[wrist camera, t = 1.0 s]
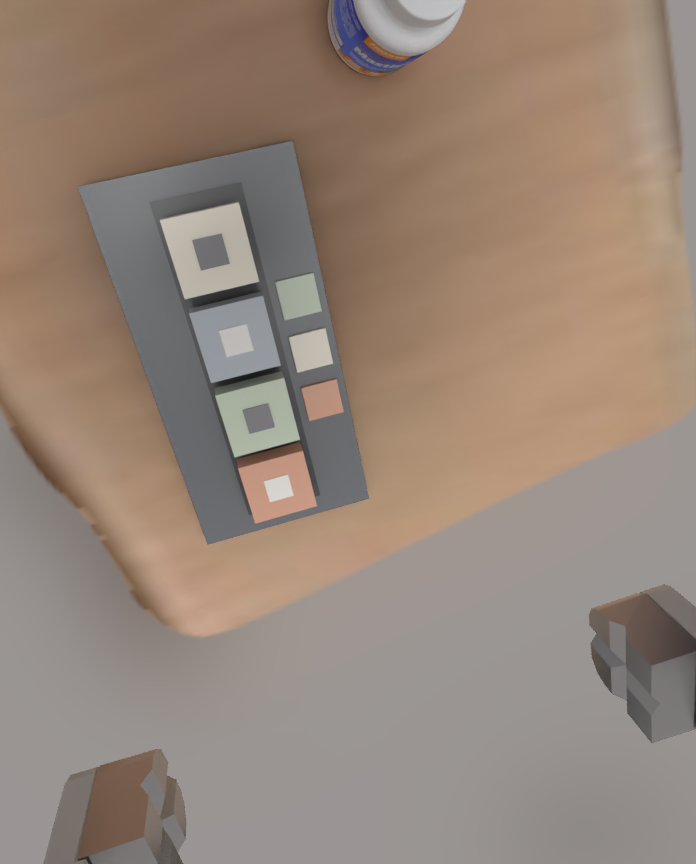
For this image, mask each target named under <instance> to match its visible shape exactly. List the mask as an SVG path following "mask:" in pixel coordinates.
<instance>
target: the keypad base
mask: <svg viewBox="0 0 696 864" xmlns="http://www.w3.org/2000/svg"><path fill="white" fill-rule="evenodd" d="M78 189H79V191H80V194H81V197H82V200H83V202H84V205H85V208H86V211H87V213H88V216H89V219H90V222H91V224H92V227H93V230H94V233H95V235H96V238H97V241H98V244H99V246H100V249H101V252H102V255H103V258H104V260H105V263H106V266H107V269H108V271H109V274H110V277H111V280H112V282H113V285H114V288H115V291H116V293H117V296H118V299H119V302H120V304H121V307H122V310H123V313H124V315H125V318H126V321H127V324H128V326H129V329H130V332H131V335H132V337H133V340H134V343H135V346H136V348H137V351H138V354H139V357H140V359H141V362H142V365H143V368H144V370H145V373H146V376H147V379H148V381H149V384H150V387H151V390H152V393H153V395H154V398H155V401H156V404H157V406H158V409H159V412H160V415H161V417H162V420H163V423H164V426H165V428H166V431H167V434H168V437H169V439H170V442H171V445H172V448H173V450H174V453H175V456H176V459H177V461H178V464H179V467H180V470H181V472H182V475H183V478H184V481H185V483H186V486H187V489H188V492H189V494H190V497H191V500H192V503H193V505H194V508H195V511H196V514H197V516H198V519H199V522H200V525H201V528H202V530H203V533H204V536H205V539H206V541H207V544H212V543H215V542H219V541H222V540H226V539H229V538H233V537H236V536H240V535H243V534H247V533H250V532H254V531H257V530H260V529H264V528H267V527H271V526H274V525H278V524H281V523H285V522H288V521H292V520H295V519H299V518H302V517H306V516H309V515H313V514H316V513H320V512H323V511H327V510H330V509H334V508H337V507H341V506H344V505H348V504H351V503H355V502H358V501H362V500H365V499H369V496H368V491H367V487H366V482H365V477H364V472H363V468H362V463H361V458H360V454H359V449H358V444H357V439H356V435H355V430H354V425H353V421H352V416H351V411H350V407H349V402H348V397H347V392H346V388H345V383H344V378H343V374H342V369H341V364H340V360H339V355H338V350H337V345H336V341H335V336H334V331H333V327H332V322H331V317H330V312H329V308H328V303H327V298H326V294H325V289H324V284H323V280H322V275H321V270H320V265H319V261H318V256H317V251H316V247H315V242H314V237H313V232H312V228H311V223H310V218H309V214H308V209H307V204H306V200H305V195H304V190H303V185H302V181H301V176H300V171H299V167H298V162H297V157H296V152H295V148H294V143H293V141H289V142H284V143H280V144H275V145H270V146H266V147H261V148H256V149H252V150H247V151H242V152H238V153H233V154H228V155H224V156H219V157H214V158H210V159H205V160H200V161H196V162H191V163H186V164H182V165H177V166H172V167H168V168H163V169H158V170H154V171H149V172H144V173H140V174H135V175H130V176H126V177H121V178H116V179H112V180H107V181H102V182H98V183H93V184H88V185H84V186H79V187H78ZM234 202H239V205H240V209H241V213H242V217H243V220H244V224H245V228H246V232H247V236H248V240H249V244H250V248H251V251H252V255H253V259H254V263H255V267H256V271H257V275H258V279H259V282H256V283H251V284H247V285H243V286H239V287H235V288H231V289H226V290H222V291H218V292H214V293H210V294H205V295H201V296H197V297H193V298H189V299H184V296H183V293H182V289H181V286H180V283H179V280H178V277H177V274H176V270H175V267H174V264H173V261H172V258H171V255H170V251H169V248H168V245H167V242H166V239H165V236H164V232H163V229H162V226H161V223H160V220H161V219H162V218H167V217H171V216H176V215H180V214H185V213H189V212H193V211H198V210H202V209H207V208H211V207H216V206H220V205H225V204H229V203H234ZM257 292H261V293H262V295H263V298H264V302H265V306H266V310H267V314H268V317H269V321H270V325H271V329H272V333H273V337H274V341H275V345H276V348H277V352H278V356H279V360H280V364H281V365H280V366H277V367H273V368H269V369H265V370H261V371H257V372H253V373H249V374H245V375H241V376H238V377H234V378H230V379H226V380H222V381H218V382H214V383H211V381H210V378H209V375H208V372H207V369H206V366H205V362H204V359H203V356H202V353H201V350H200V347H199V343H198V340H197V337H196V334H195V331H194V327H193V324H192V321H191V318H190V315H189V311H190V308H195V307H199V306H203V305H207V304H211V303H215V302H219V301H224V300H228V299H232V298H236V297H240V296H244V295H248V294H253V293H257ZM280 371H282V373H283V376H284V379H285V383H286V387H287V391H288V395H289V399H290V403H291V407H292V410H293V414H294V418H295V422H296V426H297V430H298V434H299V438H300V440H297V441H293V442H290V443H286V444H282V445H279V446H275V447H271V448H268V449H264V450H260V451H257V452H253V453H249V454H245V455H242V456H238V457H234V454H233V451H232V448H231V445H230V442H229V439H228V435H227V432H226V429H225V426H224V423H223V419H222V416H221V413H220V410H219V407H218V404H217V400H216V397H215V388H218V387H222V386H225V385H229V384H233V383H237V382H241V381H245V380H249V379H253V378H256V377H260V376H264V375H268V374H272V373H276V372H280ZM298 442H300V444H301V447H302V450H303V453H304V457H305V461H306V465H307V469H308V472H309V476H310V480H311V484H312V488H313V492H314V496H315V500H316V503H317V506H316V507H312V508H309V509H305V510H302V511H298V512H295V513H291V514H288V515H284V516H281V517H277V518H274V519H270V520H267V521H263V522H259V523H256V524H255V521H254V518H253V515H252V511H251V508H250V505H249V502H248V499H247V496H246V492H245V489H244V486H243V483H242V480H241V477H240V473H239V470H238V463H237V459H239V458H243V457H247V456H250V455H254V454H258V453H261V452H265V451H269V450H272V449H276V448H280V447H283V446H287V445H291V444H294V443H298Z"/></svg>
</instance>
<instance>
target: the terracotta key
mask: <svg viewBox="0 0 696 864" xmlns="http://www.w3.org/2000/svg"><path fill="white" fill-rule="evenodd" d="M237 463H238V470H239V473H240V477H241V480H242V483H243V486H244V489H245V492H246V496H247V499H248V502H249V505H250V508H251V511H252V515H253V518H254V521H255V524H256V523H259V522H263V521H267V520H270V519H274V518H277V517H281V516H284V515H288V514H291V513H295V512H298V511H302V510H305V509H309V508H312V507H316V506H317V503H316V500H315V496H314V492H313V488H312V484H311V480H310V476H309V472H308V469H307V465H306V461H305V457H304V453H303V450H302V447H301V444H300V442H298V443H294V444H291V445H287V446H283V447H280V448H276V449H272V450H269V451H265V452H261V453H258V454H254V455H250V456H247V457H243V458H239V459H237Z"/></svg>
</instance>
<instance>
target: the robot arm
mask: <svg viewBox="0 0 696 864" xmlns="http://www.w3.org/2000/svg"><path fill="white" fill-rule="evenodd" d="M589 625H590V626H591V628H592V629H593V630H594V631H595V632H596V635H595V637H594V639H593V640H592V642H591V652H592V653H591V654H592V659H593V662H594V665H595V667H596V670H597V672H598V674H599V676H600V678H601V679H602V681H603V683H604V684H605V686H606V687H607V688H608V689H609V691H610V692H611V693H612V694H613V695H616V696H618V697H620V698H623V699H625V700H627V713H628V714H629V716H630V717H631V718H632V719H633V721H634V722H635V723H636V724H637V725H638V727H639V728H640V729H641V731H642V732H643V733H644V734H645V735H646V737H647V738H648V739H649V740H650V742H651V743H654V742H657V741H660V740H663V739H666V738H669V737H672V736H676V735H679V734H682V733H685V732H688V731H692V730H695V729H696V607H695V606H694V605H693V604H691V603H690V602H689V601H688V600H687V599H685V598H684V597H683V596H682V595H681V594H679V593H678V592H677V591H676V590H675V589H673V588H672V587H671V586H668V585H665V584H664V585H661V586H658V587H655V588H652V589H649V590H646V591H643V592H640V593H639V594H633V595H631V596H628V597H625V598H622V599H619V600H616V601H613V602H610V603H607V604H604V605H601V606H598V607H595V608H592V609H591V611H590V614H589ZM167 768H168V761H167V760H166V758H165V756H164V754H163V752H162V750H161V749H155V750H152V751H148V752H145V753H142V754H138V755H135V756H131V757H128V758H125V759H121V760H118V761H114V762H111V763H108V764H104V765H101V766H100V767H96V768H93V769H89V770H86V771H82V772H79V773H76V774H72V775H70V777H69V778H68V780H67V782H66V783H65V785H64V788H63V792H62V795H61V799H60V803H59V807H58V810H57V814H56V818H55V822H54V826H53V829H52V833H51V837H50V840H49V844H48V848H47V852H46V856H45V860H44V863H43V864H183V862H182V860H181V858H180V856H179V854H178V851H179V849H180V847H181V845H182V844H183V842H184V841H185V839H186V815H185V806H184V800H183V797H182V793H181V789H180V787H179V785H178V783H177V780H176V779H173V778H171V777H169V776H167Z"/></svg>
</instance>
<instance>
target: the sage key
mask: <svg viewBox="0 0 696 864" xmlns="http://www.w3.org/2000/svg"><path fill="white" fill-rule="evenodd" d="M215 397H216V400H217V404H218V407H219V410H220V413H221V416H222V419H223V423H224V426H225V429H226V432H227V435H228V439H229V442H230V445H231V448H232V451H233V454H234V457H238V456H242V455H245V454H249V453H253V452H257V451H260V450H264V449H268V448H271V447H275V446H279V445H282V444H286V443H290V442H293V441H297V440H300V438H299V434H298V430H297V426H296V422H295V418H294V414H293V410H292V407H291V403H290V399H289V395H288V391H287V387H286V383H285V379H284V376H283V373H282V371H280V372H276V373H272V374H268V375H264V376H260V377H256V378H253V379H249V380H245V381H241V382H237V383H233V384H229V385H225V386H222V387H218V388H215Z"/></svg>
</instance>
